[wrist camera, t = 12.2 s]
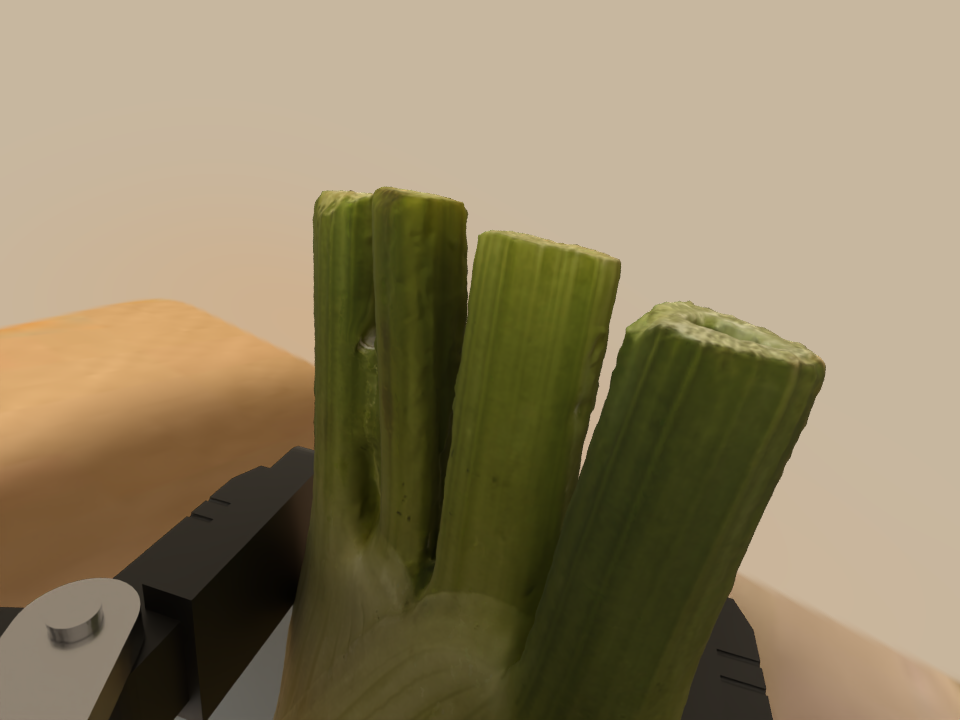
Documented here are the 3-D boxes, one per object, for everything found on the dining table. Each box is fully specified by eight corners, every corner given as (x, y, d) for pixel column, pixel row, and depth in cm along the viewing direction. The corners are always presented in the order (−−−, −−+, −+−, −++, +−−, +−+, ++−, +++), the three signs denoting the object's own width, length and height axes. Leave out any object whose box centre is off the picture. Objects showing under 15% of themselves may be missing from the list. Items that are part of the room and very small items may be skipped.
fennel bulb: (594, 1106, 8) (973, 311, 4) (218, 1271, 7) (24, 282, 2) (480, 720, 13) (576, 180, 9) (251, 766, 12) (216, 145, 7)
